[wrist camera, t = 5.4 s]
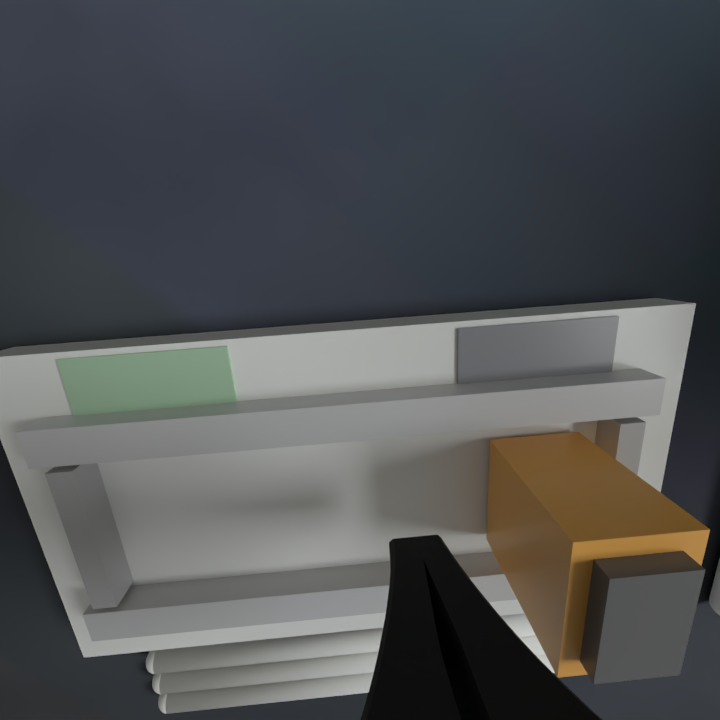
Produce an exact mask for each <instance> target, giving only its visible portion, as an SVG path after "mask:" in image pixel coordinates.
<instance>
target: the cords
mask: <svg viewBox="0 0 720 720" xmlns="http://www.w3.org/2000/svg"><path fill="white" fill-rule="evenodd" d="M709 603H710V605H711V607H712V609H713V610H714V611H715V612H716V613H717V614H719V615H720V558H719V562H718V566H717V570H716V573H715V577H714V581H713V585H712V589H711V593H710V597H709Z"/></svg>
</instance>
